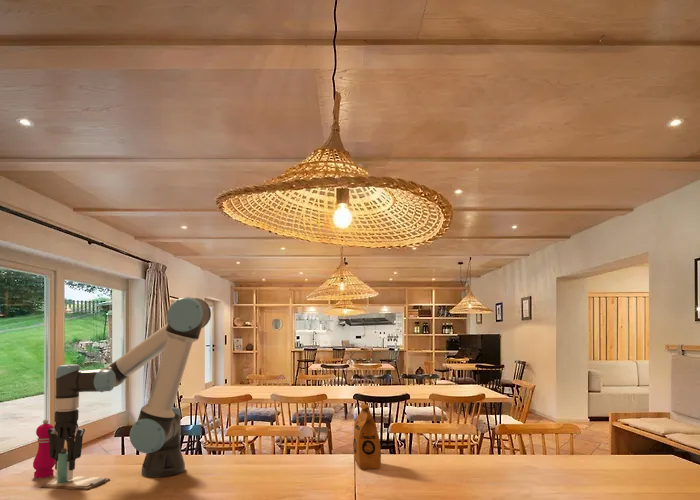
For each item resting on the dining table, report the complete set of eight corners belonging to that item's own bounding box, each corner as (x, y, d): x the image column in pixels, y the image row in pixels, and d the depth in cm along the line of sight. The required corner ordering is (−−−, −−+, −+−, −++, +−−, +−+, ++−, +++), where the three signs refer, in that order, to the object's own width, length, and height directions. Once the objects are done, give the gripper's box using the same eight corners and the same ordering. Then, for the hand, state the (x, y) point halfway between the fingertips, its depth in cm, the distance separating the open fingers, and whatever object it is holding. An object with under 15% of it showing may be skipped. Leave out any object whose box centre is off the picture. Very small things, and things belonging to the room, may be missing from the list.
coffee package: (355, 470, 213) (354, 408, 215) (352, 462, 225) (351, 403, 227) (383, 469, 214) (381, 407, 216) (378, 461, 226) (377, 402, 228)
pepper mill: (45, 479, 210) (47, 421, 212) (27, 478, 212) (29, 421, 214) (59, 473, 217) (61, 417, 219) (42, 473, 219) (43, 417, 221)
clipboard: (110, 480, 207) (111, 476, 207) (88, 490, 195) (88, 486, 195) (65, 477, 211) (65, 474, 211) (40, 487, 200) (40, 483, 200)
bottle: (70, 480, 204) (71, 447, 205) (65, 483, 200) (66, 449, 202) (60, 480, 204) (61, 447, 205) (55, 483, 201) (56, 449, 202)
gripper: (94, 408, 208) (92, 477, 205) (54, 407, 211) (52, 475, 209) (79, 411, 201) (77, 483, 198) (39, 411, 204) (36, 481, 202)
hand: (64, 479), depth 203 cm, fingers closed on bottle, 3 cm apart
